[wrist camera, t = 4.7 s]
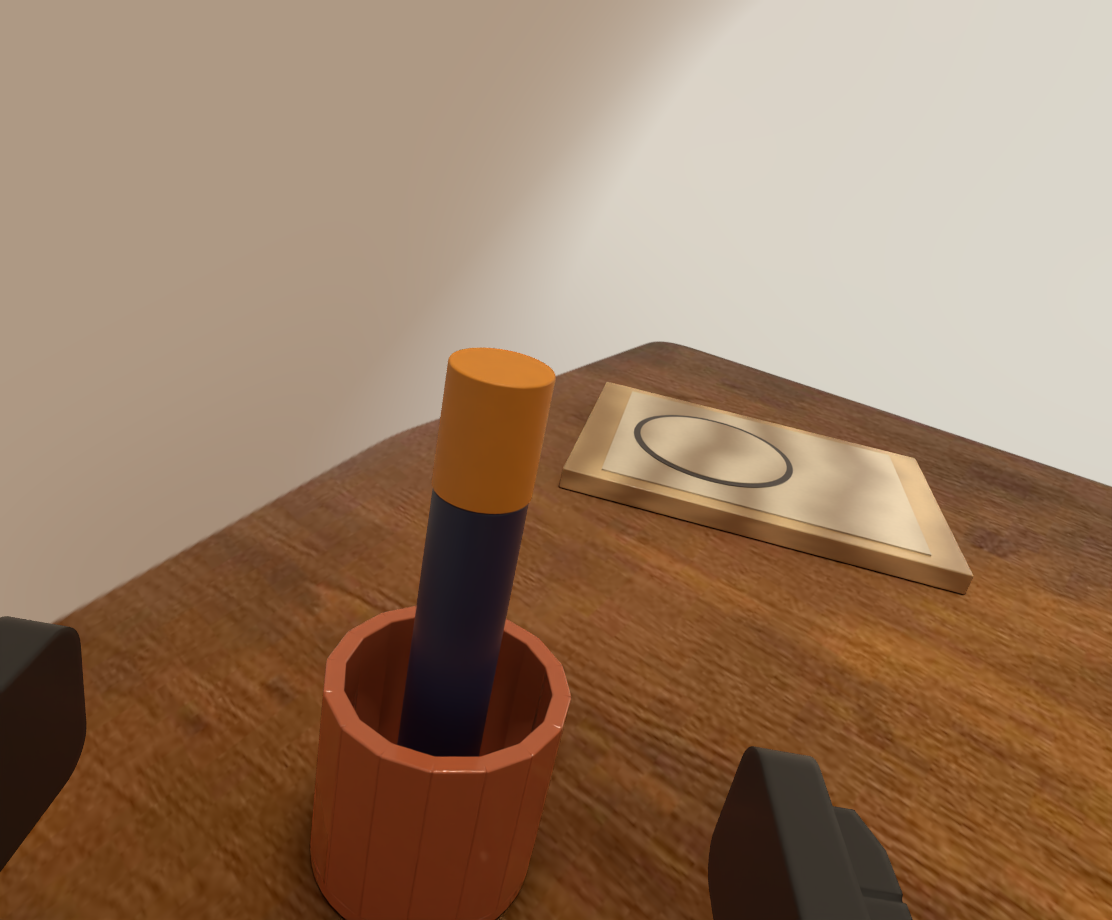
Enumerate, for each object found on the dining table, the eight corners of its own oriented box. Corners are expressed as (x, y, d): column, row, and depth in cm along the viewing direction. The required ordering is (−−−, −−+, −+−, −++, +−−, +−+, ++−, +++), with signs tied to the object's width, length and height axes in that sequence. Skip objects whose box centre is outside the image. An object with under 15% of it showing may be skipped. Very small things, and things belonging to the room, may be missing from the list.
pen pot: (266, 901, 21) (276, 724, 19) (366, 735, 27) (384, 582, 24) (497, 978, 20) (539, 806, 18) (549, 792, 26) (588, 640, 23)
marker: (370, 848, 22) (433, 368, 17) (402, 786, 24) (468, 339, 19) (450, 875, 22) (542, 395, 16) (475, 809, 24) (565, 363, 18)
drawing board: (558, 487, 45) (563, 464, 45) (603, 396, 60) (607, 378, 59) (965, 595, 43) (976, 573, 42) (909, 473, 57) (916, 455, 57)
